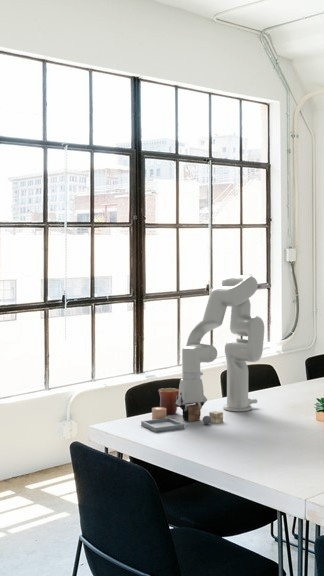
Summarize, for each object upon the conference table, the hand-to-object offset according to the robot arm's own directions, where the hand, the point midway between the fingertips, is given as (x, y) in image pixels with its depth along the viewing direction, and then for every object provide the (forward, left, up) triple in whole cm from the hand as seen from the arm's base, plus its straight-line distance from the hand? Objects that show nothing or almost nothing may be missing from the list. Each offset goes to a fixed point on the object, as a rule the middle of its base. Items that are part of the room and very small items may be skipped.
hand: (191, 418), depth 302 cm
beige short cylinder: (+12, -6, -1) cm, 14 cm away
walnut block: (0, 0, -1) cm, 1 cm away
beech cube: (-8, +7, -1) cm, 11 cm away
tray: (+16, +5, -1) cm, 17 cm away
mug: (+1, -15, -1) cm, 15 cm away
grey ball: (-2, +10, +1) cm, 10 cm away
